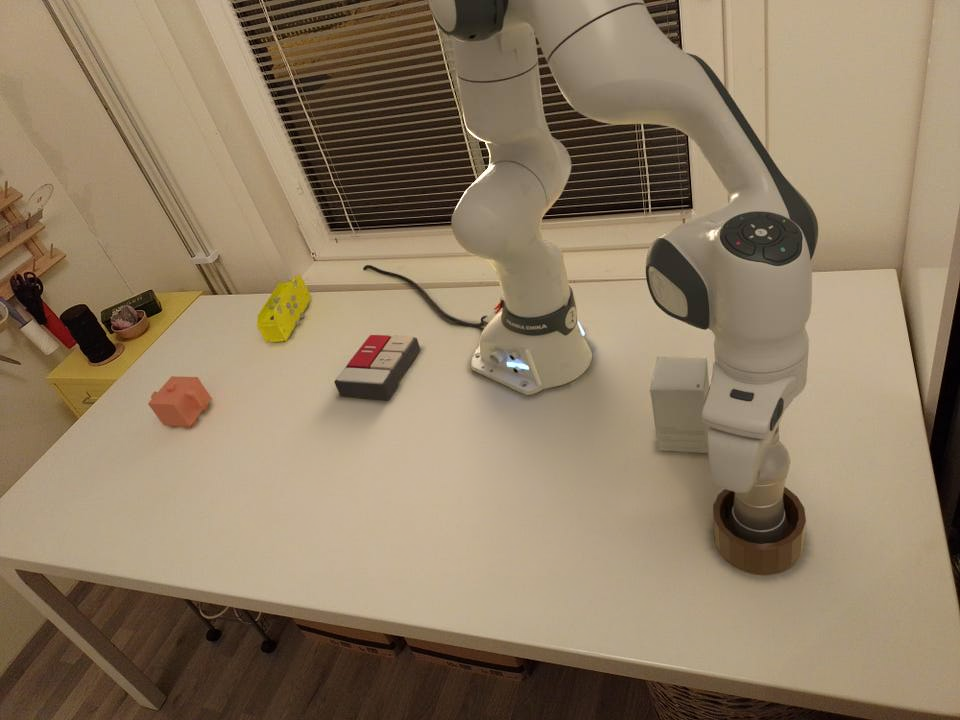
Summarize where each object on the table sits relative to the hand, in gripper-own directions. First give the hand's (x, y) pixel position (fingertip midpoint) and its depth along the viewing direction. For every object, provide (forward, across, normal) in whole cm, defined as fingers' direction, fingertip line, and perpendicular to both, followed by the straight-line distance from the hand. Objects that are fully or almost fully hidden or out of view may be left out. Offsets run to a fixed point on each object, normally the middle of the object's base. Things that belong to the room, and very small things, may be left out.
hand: (759, 456), depth 81 cm
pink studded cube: (+16, +14, -107) cm, 109 cm away
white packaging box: (+16, -14, -15) cm, 26 cm away
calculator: (+16, -10, -74) cm, 77 cm away
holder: (+16, 0, 0) cm, 16 cm away
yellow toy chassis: (+16, -17, -108) cm, 110 cm away
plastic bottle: (+15, 0, 0) cm, 15 cm away
